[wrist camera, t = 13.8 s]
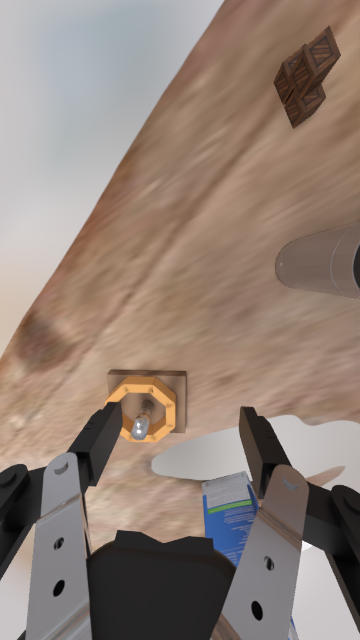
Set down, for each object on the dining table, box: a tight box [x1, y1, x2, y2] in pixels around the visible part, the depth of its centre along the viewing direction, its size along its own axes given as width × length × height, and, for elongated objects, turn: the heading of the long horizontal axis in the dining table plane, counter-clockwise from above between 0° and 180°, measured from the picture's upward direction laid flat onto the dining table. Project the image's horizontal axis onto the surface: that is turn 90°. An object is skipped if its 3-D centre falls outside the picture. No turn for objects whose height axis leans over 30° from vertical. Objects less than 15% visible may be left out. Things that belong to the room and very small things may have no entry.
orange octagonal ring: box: [105, 376, 176, 442], centre depth 41 cm, size 15×15×3 cm
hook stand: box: [107, 370, 186, 441], centre depth 40 cm, size 18×16×10 cm
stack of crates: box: [274, 26, 341, 129], centre depth 26 cm, size 15×15×7 cm
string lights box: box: [202, 471, 299, 640], centre depth 39 cm, size 13×8×26 cm, turn 113°
